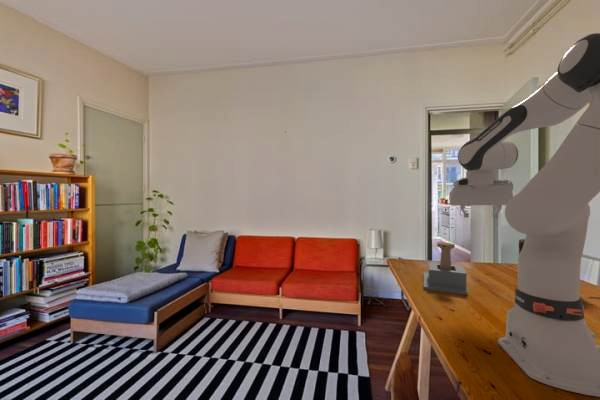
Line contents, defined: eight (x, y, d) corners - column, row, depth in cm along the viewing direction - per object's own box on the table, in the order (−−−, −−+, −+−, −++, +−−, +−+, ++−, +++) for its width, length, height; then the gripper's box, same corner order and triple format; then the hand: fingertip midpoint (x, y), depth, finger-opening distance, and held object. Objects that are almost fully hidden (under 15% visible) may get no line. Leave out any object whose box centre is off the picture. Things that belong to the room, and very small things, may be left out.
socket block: (467, 295, 105) (467, 275, 104) (423, 289, 111) (423, 271, 110) (460, 278, 125) (460, 262, 125) (423, 274, 131) (423, 259, 131)
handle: (452, 282, 112) (452, 245, 112) (435, 279, 117) (435, 243, 116) (455, 279, 116) (456, 243, 116) (438, 276, 120) (439, 241, 120)
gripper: (510, 180, 105) (511, 217, 105) (448, 182, 113) (449, 217, 112) (515, 178, 99) (517, 218, 99) (450, 181, 107) (451, 217, 107)
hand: (480, 217), depth 106 cm, fingers open, 8 cm apart
